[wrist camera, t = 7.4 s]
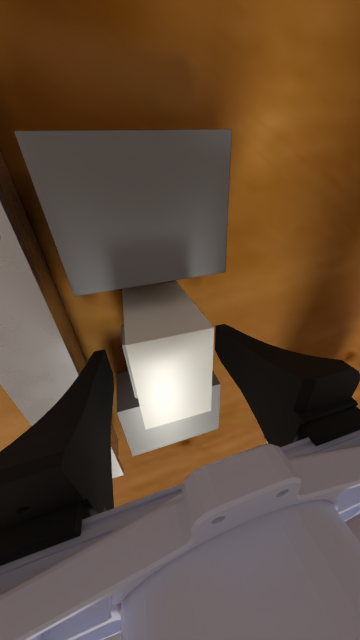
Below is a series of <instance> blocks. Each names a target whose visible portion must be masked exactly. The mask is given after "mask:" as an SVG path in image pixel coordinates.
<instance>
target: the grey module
mask: <svg viewBox="0 0 360 640" xmlns="http://www.w3.org/2000/svg"><path fill="white" fill-rule="evenodd" d="M122 298H123V315H124V325H123V326H121V330H122V347H123V351H124V355H125V359H126V363H127V367H128V371H129V375H130V379H131V383H132V387H133V391H134V395H135V398H138V400H139V405H140V409H141V413H142V417H143V421H144V425H145V430H147V429H150V428H154V427H157V426H161V425H164V424H168V423H171V422H174V421H178V420H181V419H185V418H188V417H192V416H195V415H198V414H202V413H205V412H209V411H211V398H212V370H213V341H214V327H213V326H212V325H211V323H210V322H209V321H208V320H207V318H206V317H205V316H204V315H203V314H202V312H201V311H200V310H199V309H198V307H197V306H196V305H195V304H194V302H193V301H192V300H191V299H190V298H189V296H188V295H187V294H186V293H185V291H184V290H183V289H182V288H181V286H180V285H179V284H178V283H177V282H176V281H174V282H167V283H160V284H153V285H146V286H139V287H132V288H125V289H122Z"/></svg>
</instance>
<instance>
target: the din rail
mask: <svg viewBox="0 0 360 640" xmlns="http://www.w3.org/2000/svg"><path fill="white" fill-rule="evenodd" d="M86 364H87V363H86V360H85V358H84V355H83V353H82V350H81V348H80V345H79V343H78V341H77V338H76V336H75V333H74V331H73V328H72V326H71V323H70V321H69V318H68V316H67V314H66V311H65V309H64V306H63V304H62V301H61V299H60V296H59V294H58V291H57V289H56V286H55V284H54V282H53V279H52V277H51V274H50V272H49V269H48V267H47V264H46V262H45V259H44V257H43V255H42V252H41V250H40V247H39V245H38V242H37V240H36V237H35V235H34V232H33V230H32V227H31V225H30V223H29V220H28V218H27V215H26V213H25V210H24V208H23V205H22V203H21V200H20V198H19V196H18V193H17V191H16V188H15V186H14V183H13V181H12V178H11V176H10V173H9V171H8V168H7V166H6V164H5V161H4V159H3V156H2V154H1V151H0V384H1V386H2V387H3V388H4V390H5V391H6V392H7V394H8V395H9V396H10V398H11V399H12V400H13V402H14V403H15V404H16V406H17V407H18V408H19V410H20V411H21V412H22V414H23V415H24V416H25V418H26V419H27V420H28V422H29V423H30V424H31V426H33V425H34V424H35V423H36V422H37V421H38V420H39V419H40V418H41V417H43V416H44V415H45V414H46V413H47V412H48V411H49V410H50V409H51V408H52V407H53V406H54V405H55V404H56V403H57V402H58V400H59V399H60V398H61V397H62V396H63V395H64V394H65V393H66V391H67V390H68V389H69V388H70V386H71V385H72V384H73V382H74V381H75V380H76V378H77V377H78V375H79V374H80V373H81V371H82V370H83V368H84V367H85V365H86ZM111 463H112V479H113V478H116V477H119V476H122V475H124V469H123V467H122V464H121V462H120V460H119V457H118V439H117V436H116V434H115V432H114V429H113V427H112V424H111Z"/></svg>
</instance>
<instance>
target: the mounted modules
mask: <svg viewBox="0 0 360 640" xmlns="http://www.w3.org/2000/svg"><path fill="white" fill-rule="evenodd" d="M14 133H15V136H16V138H17V141H18V144H19V146H20V149H21V152H22V155H23V157H24V160H25V163H26V166H27V168H28V171H29V174H30V176H31V179H32V182H33V185H34V187H35V190H36V193H37V196H38V198H39V201H40V204H41V207H42V209H43V212H44V215H45V217H46V220H47V223H48V226H49V228H50V231H51V234H52V237H53V239H54V242H55V245H56V248H57V250H58V253H59V256H60V258H61V261H62V264H63V267H64V269H65V272H66V275H67V278H68V280H69V283H70V286H71V288H72V291H73V294H74V296H79V295H86V294H92V293H98V292H104V291H111V290H117V289H123V288H129V287H136V286H142V285H148V284H155V283H161V282H167V281H173V280H180V279H186V278H192V277H198V276H205V275H211V274H217V273H223V272H225V270H226V247H227V225H228V202H229V180H230V157H231V134H232V129H227V130H93V131H14ZM219 406H220V382H219V381H218V379H217V377H216V376H215V374H214V372H213V370H212V398H211V411H209V412H205V413H202V414H198V415H195V416H192V417H188V418H185V419H181V420H178V421H174V422H171V423H168V424H164V425H161V426H157V427H154V428H150V429H147V430H145V425H144V421H143V417H142V413H141V409H140V405H139V400H138V398H135V395H134V391H133V387H132V383H131V379H130V375H129V371H126V372H122V373H117V414H118V417H119V420H120V422H121V425H122V428H123V431H124V433H125V436H126V439H127V441H128V444H129V447H130V450H131V452H132V455H133V456H135V455H138V454H141V453H145V452H148V451H151V450H154V449H157V448H160V447H163V446H166V445H169V444H172V443H175V442H178V441H182V440H185V439H188V438H191V437H194V436H197V435H200V434H203V433H206V432H209V431H212V430H216V429H218V428H219Z"/></svg>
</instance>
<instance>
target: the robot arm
mask: <svg viewBox="0 0 360 640" xmlns="http://www.w3.org/2000/svg"><path fill="white" fill-rule="evenodd" d="M215 351H216V353H217V355H218V357H219V359H220V361H221V362H222V364H223V365H224V367H225V368H226V370H227V371H228V373H229V374H230V376H231V377H232V378H233V380H234V381H235V383H236V384H237V386H238V387H239V388H240V390H241V392H242V393H243V395H244V397H245V399H246V400H247V402H248V404H249V406H250V408H251V410H252V412H253V413H254V415H255V417H256V419H257V421H258V423H259V425H260V427H261V429H262V431H263V434H264V436H265V438H266V439H265V441H266V442H267V443H268V444H265V445H260V446H257V447H254V448H251V449H249V450H246V451H243V452H240V453H237V454H235V455H232V456H229V457H226V458H223V459H220V460H218V461H215V462H212V463H209V464H206V465H204V466H202V467H200V468H198V469H196V470H194V471H193V472H192V473H191V474H190V475H189V476H188V477H186V479H185V481H184V483H182V484H179V485H176V486H173V487H171V488H168V489H165V490H162V491H160V492H157V493H154V494H151V495H149V496H146V497H143V498H141V499H138V500H135V501H132V502H130V503H127V504H124V505H121V506H119V507H116V508H114V501H113V485H112V463H111V417H112V405H113V393H114V383H113V373H112V370H111V367H110V364H109V361H108V358H107V354H106V351H105V350H100V351H95V352H94V353H93V354H92V356H91V357H90V359H89V360H88V362H87V364H86V365H85V367H84V368H83V370H82V371H81V373H80V374H79V375H78V377H77V378H76V380H75V381H74V382H73V384H72V385H71V386H70V388H69V389H68V390H67V391H66V393H65V394H64V395H63V396H62V397H61V398H60V399H59V400H58V402H57V403H56V404H55V405H54V406H53V407H52V408H51V409H50V410H49V411H48V412H47V413H46V414H45V415H44V416H43V417H41V418H40V419H39V420H38V421H37V422H36V423H35V424H34V425H33V426H32V427H31V428H29V429H28V430H27V431H26V432H25V433H23V434H22V435H21V436H20V437H19V438H17V439H16V440H15V441H14V442H12V443H11V444H10V445H9V446H7V447H6V448H5V449H3V450H2V451H1V452H0V640H103V639H105V638H108V637H110V636H113V635H115V634H117V633H120V632H121V640H360V409H358V408H357V407H356V406H357V405H358V403H357V402H356V401H355V400H354V399H353V398H352V395H353V393H354V391H355V389H356V388H357V386H358V383H359V381H360V374H359V371H357V370H356V369H354V368H353V367H351V366H350V365H348V364H347V363H346V362H344V361H342V360H336V359H328V358H321V357H315V356H310V355H305V354H300V353H296V352H292V351H288V350H285V349H281V348H278V347H275V346H272V345H269V344H267V343H264V342H262V341H259V340H257V339H255V338H252V337H250V336H248V335H246V334H244V333H242V332H240V331H238V330H236V329H234V328H232V327H230V326H227V325H225V324H222V325H217V326H216V331H215Z"/></svg>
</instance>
